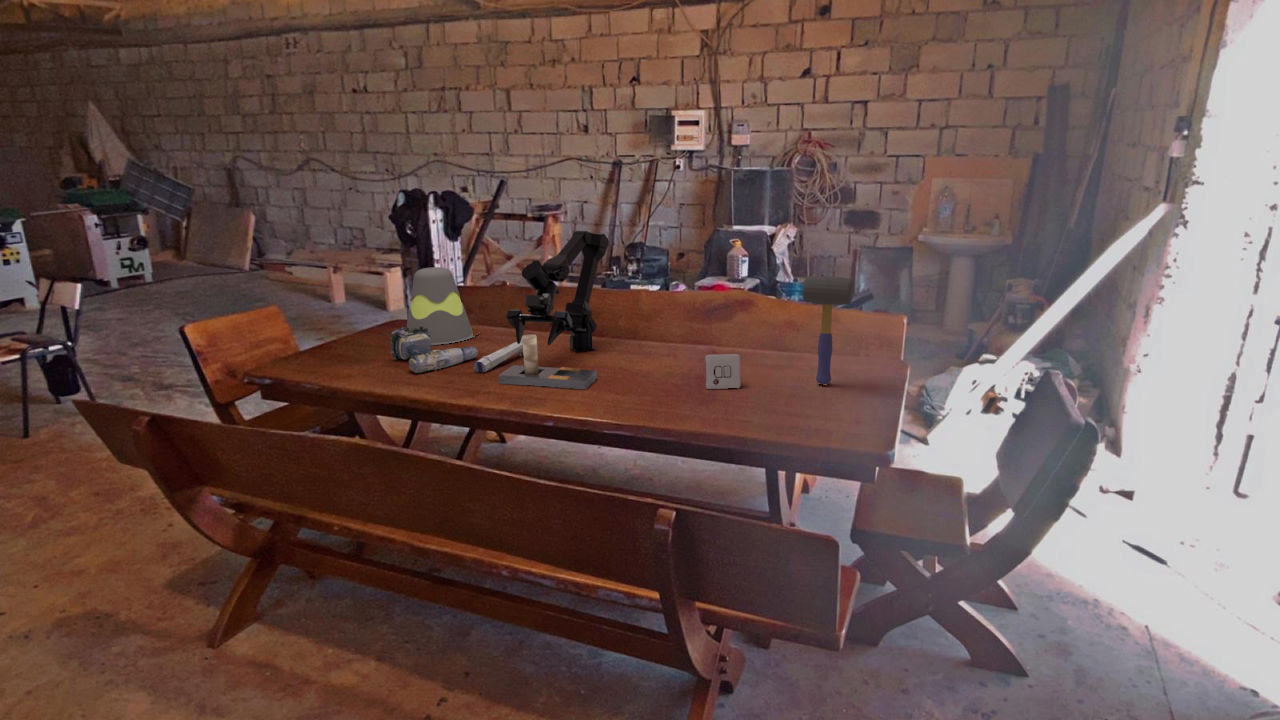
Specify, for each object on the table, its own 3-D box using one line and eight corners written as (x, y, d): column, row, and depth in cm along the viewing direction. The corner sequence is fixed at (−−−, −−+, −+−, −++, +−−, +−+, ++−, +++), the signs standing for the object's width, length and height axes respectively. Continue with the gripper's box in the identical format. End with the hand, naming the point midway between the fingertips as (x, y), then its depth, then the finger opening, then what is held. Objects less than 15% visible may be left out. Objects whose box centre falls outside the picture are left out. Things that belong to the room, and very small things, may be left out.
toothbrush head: (471, 360, 222) (523, 330, 242) (475, 380, 225) (526, 349, 244) (484, 362, 220) (536, 332, 239) (488, 382, 222) (539, 351, 242)
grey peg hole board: (499, 383, 212) (498, 374, 211) (514, 373, 221) (513, 364, 220) (585, 389, 205) (585, 379, 204) (597, 378, 214) (596, 369, 213)
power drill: (380, 364, 234) (376, 330, 231) (441, 349, 250) (438, 317, 247) (419, 377, 220) (415, 341, 217) (481, 360, 236) (479, 327, 233)
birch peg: (536, 377, 217) (533, 333, 213) (541, 380, 213) (538, 336, 210) (523, 379, 215) (520, 335, 211) (528, 383, 212) (525, 338, 208)
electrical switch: (706, 390, 203) (706, 356, 201) (704, 385, 208) (704, 353, 206) (740, 389, 203) (741, 355, 201) (738, 385, 208) (738, 352, 206)
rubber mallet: (848, 383, 205) (855, 275, 197) (844, 391, 199) (851, 279, 190) (803, 378, 210) (807, 272, 202) (797, 386, 204) (802, 277, 195)
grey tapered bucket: (396, 331, 274) (388, 266, 268) (473, 323, 283) (468, 260, 277) (400, 349, 249) (392, 278, 243) (484, 340, 258) (479, 271, 252)
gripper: (506, 282, 216) (493, 328, 209) (567, 283, 212) (556, 330, 205) (517, 303, 226) (506, 348, 219) (576, 305, 222) (566, 350, 215)
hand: (533, 344), depth 214 cm, fingers open, 9 cm apart
